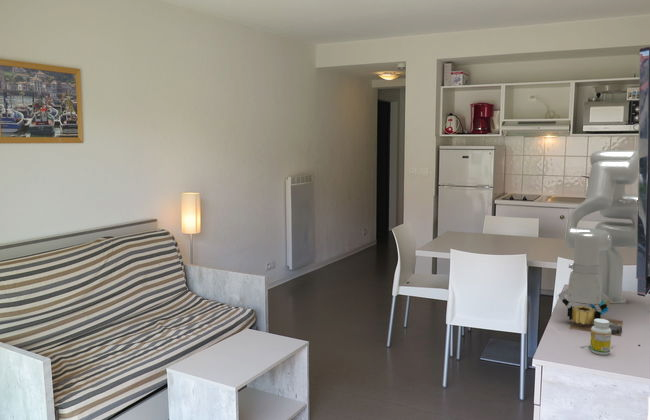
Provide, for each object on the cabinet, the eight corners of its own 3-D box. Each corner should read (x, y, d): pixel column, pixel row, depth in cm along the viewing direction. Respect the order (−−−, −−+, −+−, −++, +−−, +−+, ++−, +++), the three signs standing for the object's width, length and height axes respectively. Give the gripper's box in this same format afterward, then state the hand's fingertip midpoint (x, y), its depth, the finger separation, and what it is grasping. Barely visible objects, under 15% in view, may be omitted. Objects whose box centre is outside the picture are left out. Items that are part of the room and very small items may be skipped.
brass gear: (567, 317, 182) (567, 306, 182) (588, 316, 183) (589, 305, 182) (578, 324, 175) (578, 312, 175) (600, 324, 175) (601, 312, 175)
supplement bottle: (607, 356, 155) (609, 324, 154) (587, 352, 158) (589, 321, 157) (612, 351, 159) (613, 320, 158) (592, 347, 162) (594, 316, 161)
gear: (601, 315, 187) (584, 291, 193) (588, 323, 191) (571, 300, 196) (616, 313, 194) (598, 290, 199) (603, 321, 197) (586, 298, 203)
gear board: (574, 317, 190) (575, 304, 189) (623, 324, 182) (623, 310, 182) (569, 332, 176) (569, 318, 175) (621, 339, 168) (621, 325, 167)
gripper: (556, 268, 178) (554, 319, 180) (615, 274, 169) (612, 328, 171) (559, 264, 184) (557, 313, 187) (616, 269, 176) (613, 321, 178)
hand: (583, 320), depth 179 cm, fingers closed on brass gear, 7 cm apart
